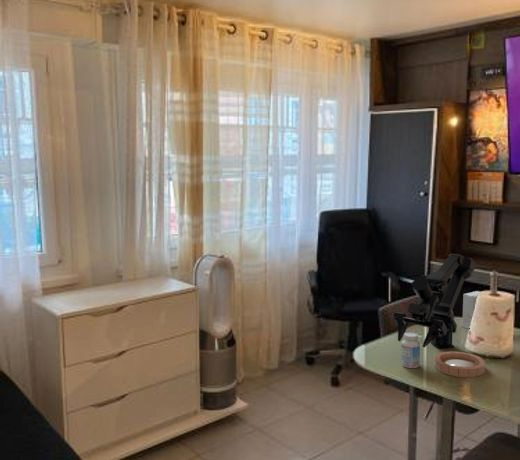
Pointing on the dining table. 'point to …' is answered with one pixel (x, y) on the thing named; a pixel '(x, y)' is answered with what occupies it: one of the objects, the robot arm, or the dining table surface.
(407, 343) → the pill bottle
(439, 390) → the dining table surface
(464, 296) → the skincare box
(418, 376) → the dining table surface
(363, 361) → the dining table surface
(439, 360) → the round dish
